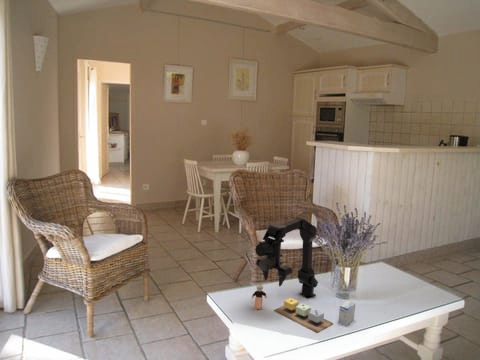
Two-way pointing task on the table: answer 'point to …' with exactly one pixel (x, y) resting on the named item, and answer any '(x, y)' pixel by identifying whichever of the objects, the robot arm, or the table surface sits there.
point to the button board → (303, 319)
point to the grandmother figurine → (258, 297)
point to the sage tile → (303, 309)
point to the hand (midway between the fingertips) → (272, 283)
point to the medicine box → (346, 313)
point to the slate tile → (316, 316)
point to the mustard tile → (291, 303)
